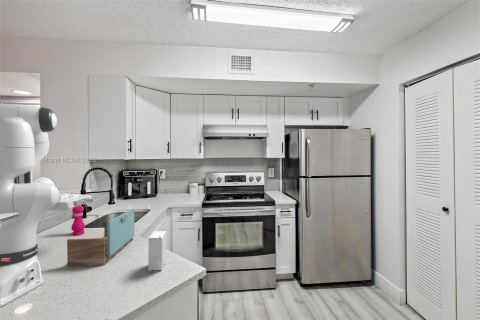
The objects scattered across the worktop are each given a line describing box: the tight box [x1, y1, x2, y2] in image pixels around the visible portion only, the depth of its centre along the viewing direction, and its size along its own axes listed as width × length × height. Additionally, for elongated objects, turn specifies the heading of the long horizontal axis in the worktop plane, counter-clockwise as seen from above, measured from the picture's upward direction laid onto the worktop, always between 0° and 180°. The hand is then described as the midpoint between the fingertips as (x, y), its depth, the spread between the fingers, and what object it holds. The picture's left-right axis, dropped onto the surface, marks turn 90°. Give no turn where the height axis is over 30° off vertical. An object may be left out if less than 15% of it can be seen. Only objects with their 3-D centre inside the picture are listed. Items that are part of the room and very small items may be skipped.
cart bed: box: [66, 219, 134, 267], centre depth 117 cm, size 32×16×12 cm, turn 4°
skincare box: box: [147, 230, 167, 270], centre depth 100 cm, size 8×6×15 cm
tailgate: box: [107, 208, 135, 257], centre depth 118 cm, size 28×2×16 cm, turn 4°
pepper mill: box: [71, 205, 86, 237], centre depth 145 cm, size 7×7×20 cm
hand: (90, 201), depth 119 cm, fingers open, 3 cm apart
